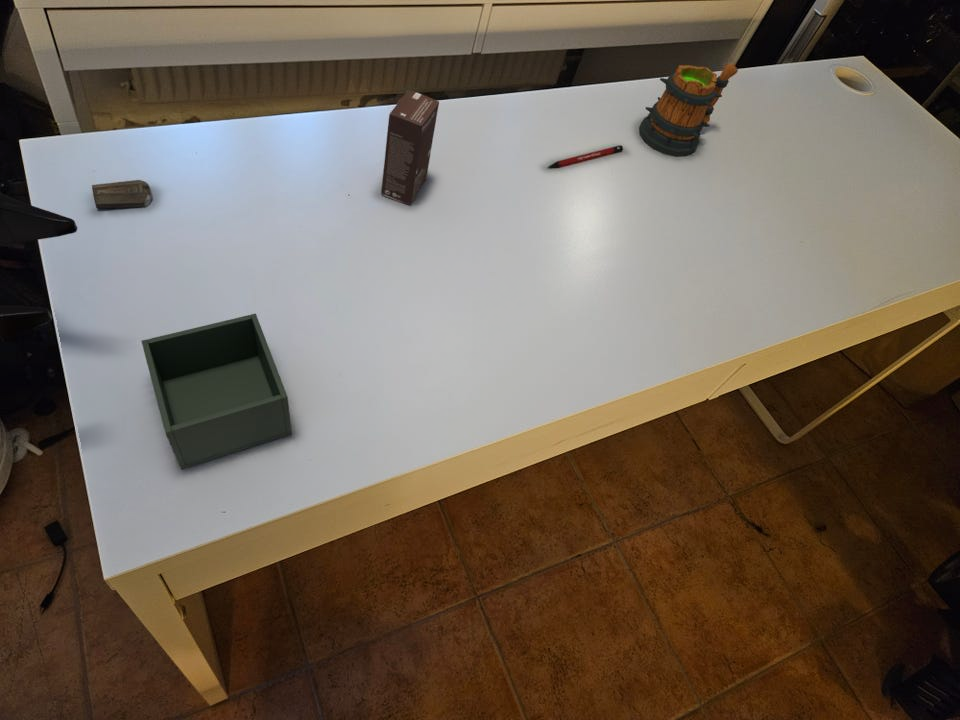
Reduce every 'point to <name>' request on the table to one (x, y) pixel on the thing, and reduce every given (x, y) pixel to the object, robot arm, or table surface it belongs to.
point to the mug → (683, 109)
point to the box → (408, 146)
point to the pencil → (586, 157)
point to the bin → (217, 389)
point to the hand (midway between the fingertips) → (63, 267)
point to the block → (122, 194)
